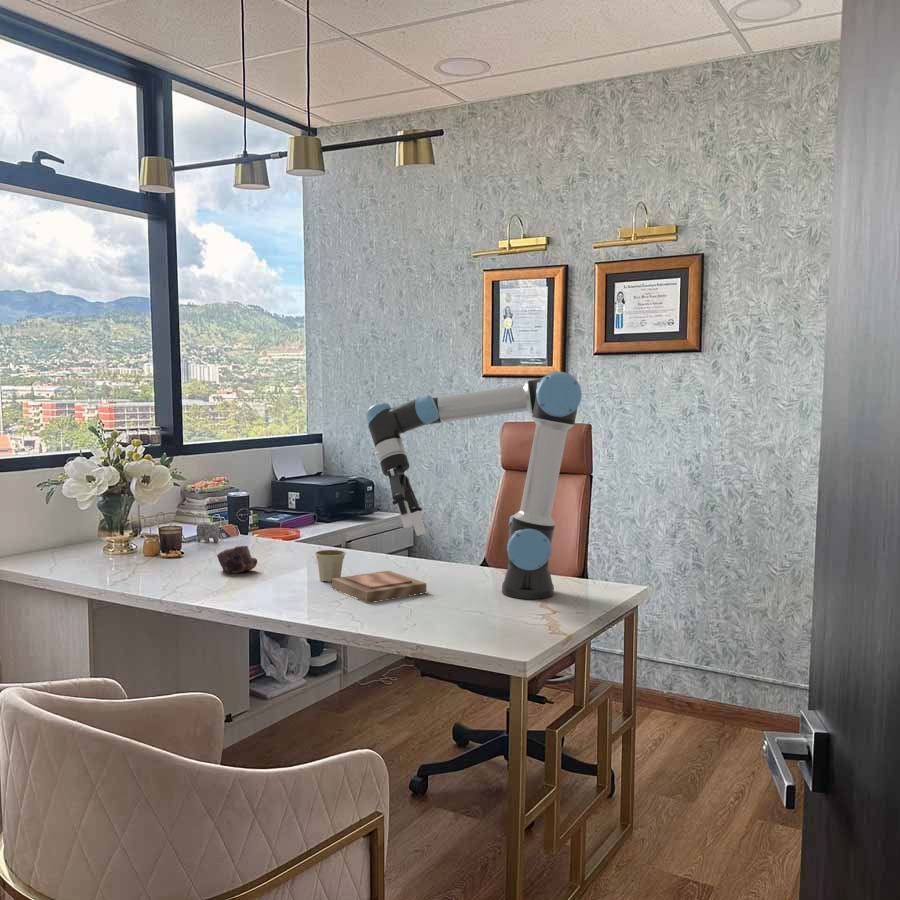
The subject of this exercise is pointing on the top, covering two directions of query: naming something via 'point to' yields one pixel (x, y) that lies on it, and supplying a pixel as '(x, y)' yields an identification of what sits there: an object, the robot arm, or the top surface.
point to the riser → (378, 586)
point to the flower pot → (330, 564)
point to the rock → (237, 560)
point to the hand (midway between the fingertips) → (415, 530)
